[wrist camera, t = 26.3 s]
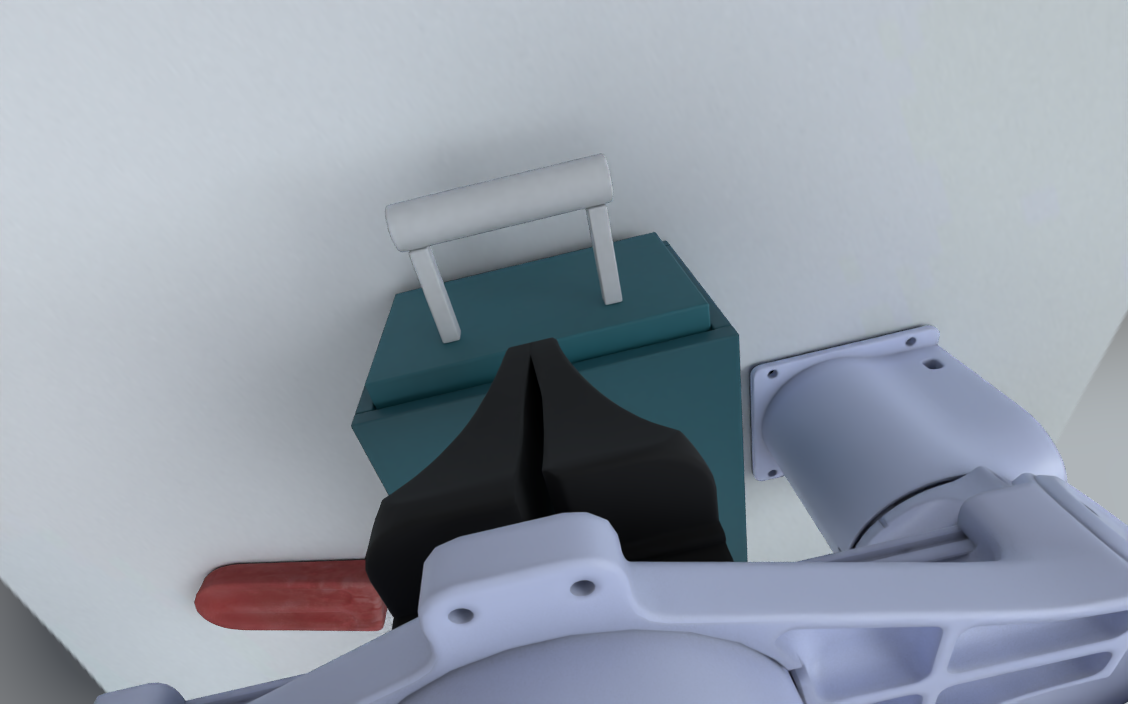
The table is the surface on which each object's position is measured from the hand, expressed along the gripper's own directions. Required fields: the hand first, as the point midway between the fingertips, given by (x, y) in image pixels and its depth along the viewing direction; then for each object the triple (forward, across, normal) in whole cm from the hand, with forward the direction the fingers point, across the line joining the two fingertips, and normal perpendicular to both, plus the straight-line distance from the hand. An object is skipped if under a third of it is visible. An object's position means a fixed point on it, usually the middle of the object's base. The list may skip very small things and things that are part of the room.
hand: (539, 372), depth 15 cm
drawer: (+9, 0, +4) cm, 10 cm away
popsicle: (+10, +16, +18) cm, 26 cm away
